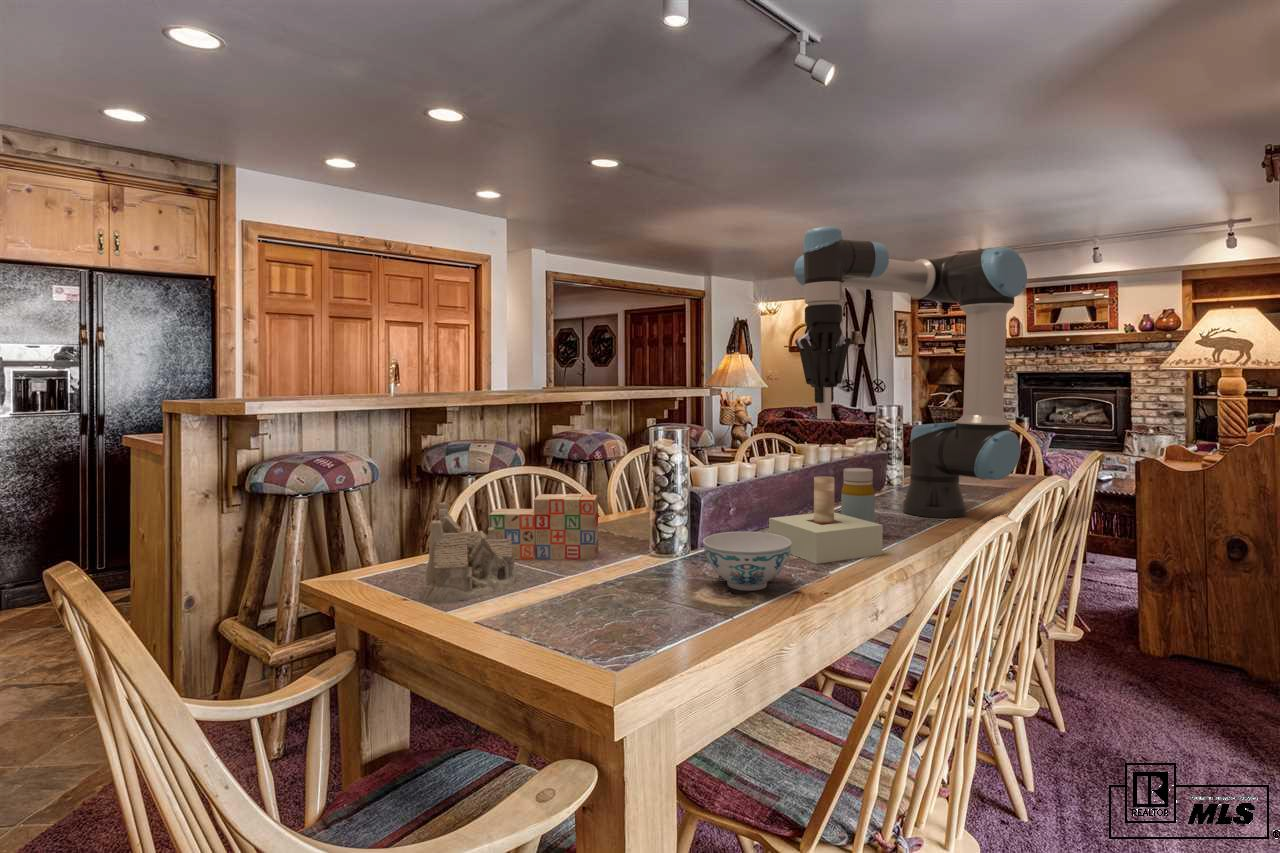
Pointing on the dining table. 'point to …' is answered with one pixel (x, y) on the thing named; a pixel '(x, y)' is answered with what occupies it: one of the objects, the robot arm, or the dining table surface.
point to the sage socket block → (829, 537)
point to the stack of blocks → (551, 527)
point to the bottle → (858, 494)
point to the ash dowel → (823, 500)
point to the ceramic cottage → (465, 562)
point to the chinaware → (747, 557)
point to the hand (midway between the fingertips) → (824, 418)
